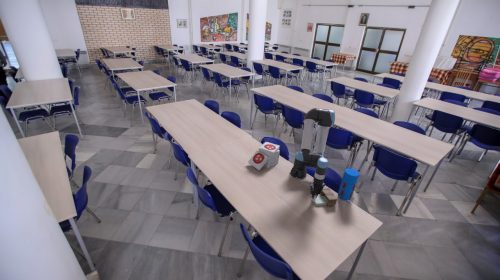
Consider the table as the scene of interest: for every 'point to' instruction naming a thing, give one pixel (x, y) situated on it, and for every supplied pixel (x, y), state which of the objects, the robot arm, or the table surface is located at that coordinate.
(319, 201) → the board
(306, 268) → the table surface
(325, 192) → the tan notched block
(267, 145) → the pizza boxes
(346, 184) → the thermos
